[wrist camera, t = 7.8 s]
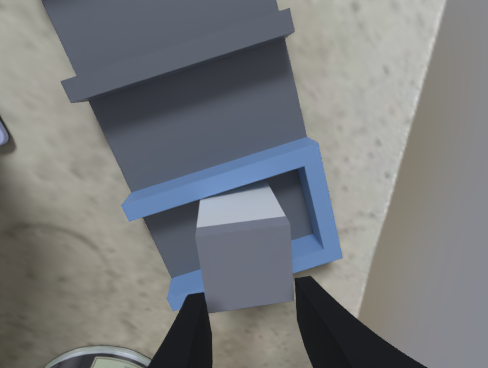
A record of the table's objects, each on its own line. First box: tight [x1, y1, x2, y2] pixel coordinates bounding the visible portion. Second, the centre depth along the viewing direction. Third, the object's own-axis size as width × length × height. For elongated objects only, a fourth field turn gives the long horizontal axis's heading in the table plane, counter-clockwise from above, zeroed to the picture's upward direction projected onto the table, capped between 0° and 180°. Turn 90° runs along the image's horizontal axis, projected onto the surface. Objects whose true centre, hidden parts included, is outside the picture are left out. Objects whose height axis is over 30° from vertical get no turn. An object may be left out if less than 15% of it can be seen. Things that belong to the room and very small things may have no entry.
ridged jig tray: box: [42, 0, 343, 311], centre depth 16 cm, size 11×21×3 cm, turn 17°
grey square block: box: [195, 181, 294, 313], centre depth 15 cm, size 4×4×6 cm
